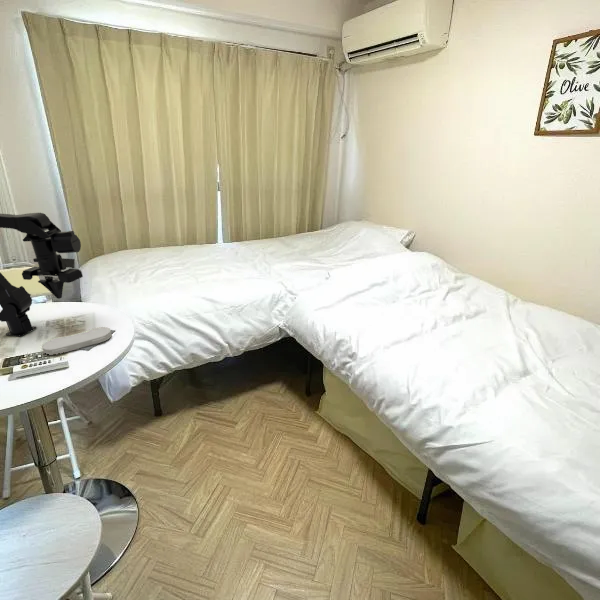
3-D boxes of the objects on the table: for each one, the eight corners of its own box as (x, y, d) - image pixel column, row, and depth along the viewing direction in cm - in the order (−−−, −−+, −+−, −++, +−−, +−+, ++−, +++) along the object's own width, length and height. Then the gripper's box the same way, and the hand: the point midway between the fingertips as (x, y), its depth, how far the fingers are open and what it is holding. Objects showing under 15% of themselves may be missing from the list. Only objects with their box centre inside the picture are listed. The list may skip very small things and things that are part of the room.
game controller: (43, 347, 120) (44, 359, 114) (41, 341, 119) (42, 352, 113) (109, 330, 130) (114, 340, 124) (108, 324, 129) (112, 334, 123)
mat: (66, 348, 120) (66, 347, 120) (95, 329, 132) (95, 328, 131) (88, 350, 118) (88, 349, 118) (115, 331, 130) (115, 330, 130)
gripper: (88, 247, 126) (100, 291, 132) (43, 245, 130) (56, 287, 136) (62, 257, 116) (75, 303, 122) (13, 255, 120) (29, 299, 127)
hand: (59, 298), depth 127 cm, fingers closed
